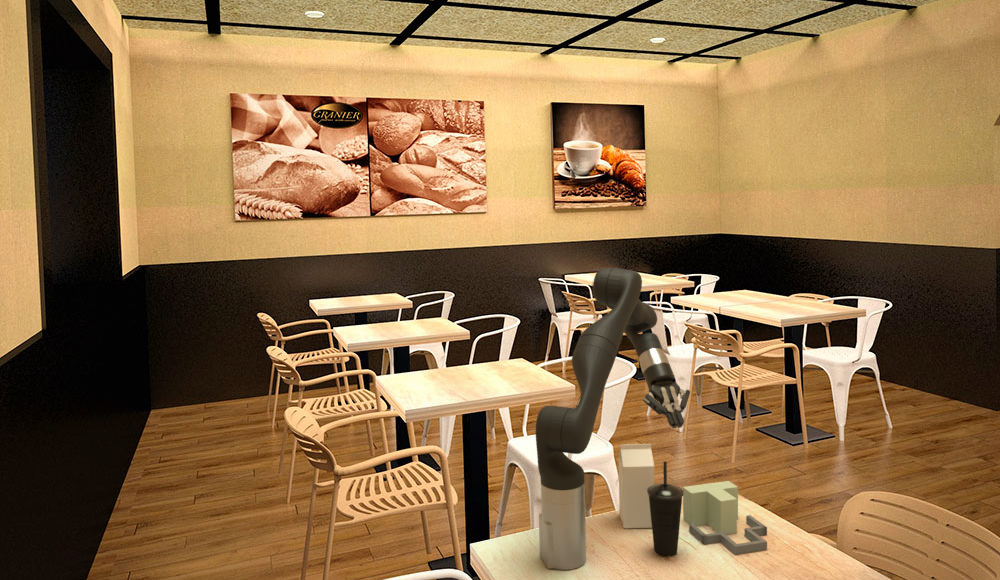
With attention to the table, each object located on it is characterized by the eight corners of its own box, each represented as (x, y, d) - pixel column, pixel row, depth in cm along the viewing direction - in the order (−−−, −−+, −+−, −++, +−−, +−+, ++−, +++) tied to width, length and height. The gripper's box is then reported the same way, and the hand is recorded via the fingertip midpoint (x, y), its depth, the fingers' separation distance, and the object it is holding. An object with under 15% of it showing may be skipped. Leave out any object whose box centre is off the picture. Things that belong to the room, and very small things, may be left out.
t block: (704, 537, 159) (704, 503, 158) (683, 519, 169) (683, 487, 168) (752, 530, 162) (752, 496, 161) (728, 512, 172) (728, 480, 171)
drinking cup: (684, 544, 156) (683, 456, 154) (683, 561, 149) (683, 469, 147) (648, 541, 158) (648, 454, 156) (646, 558, 151) (645, 467, 149)
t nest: (718, 557, 150) (718, 549, 150) (689, 531, 162) (689, 524, 162) (783, 547, 154) (783, 539, 154) (750, 522, 166) (750, 515, 166)
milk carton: (654, 528, 165) (654, 449, 162) (623, 529, 165) (622, 449, 163) (648, 515, 172) (648, 439, 169) (619, 515, 172) (618, 439, 170)
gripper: (637, 363, 187) (658, 422, 177) (684, 359, 191) (707, 416, 180) (629, 378, 193) (649, 436, 183) (674, 374, 196) (697, 430, 186)
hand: (678, 426), depth 181 cm, fingers closed
